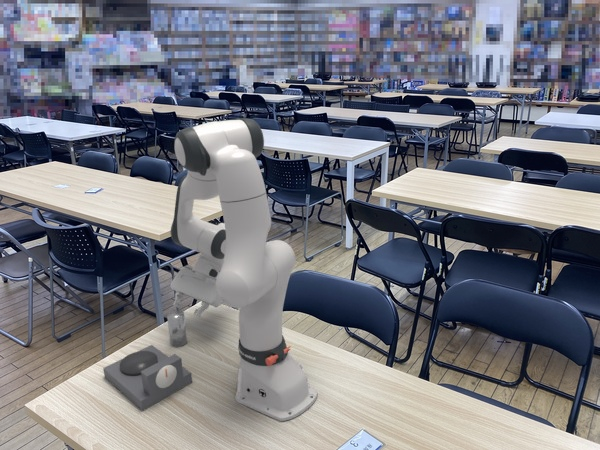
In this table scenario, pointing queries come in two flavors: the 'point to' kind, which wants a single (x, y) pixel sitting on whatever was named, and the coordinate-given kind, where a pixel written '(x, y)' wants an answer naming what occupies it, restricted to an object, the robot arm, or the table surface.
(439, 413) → the table surface
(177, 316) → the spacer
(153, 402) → the scale
